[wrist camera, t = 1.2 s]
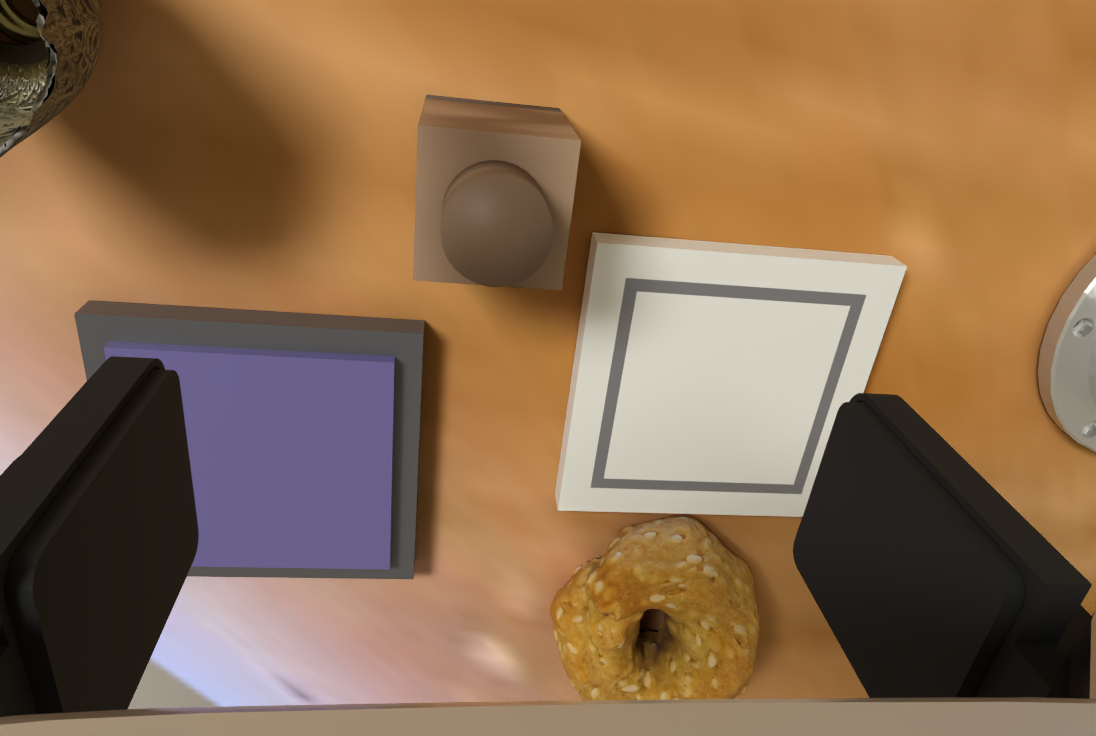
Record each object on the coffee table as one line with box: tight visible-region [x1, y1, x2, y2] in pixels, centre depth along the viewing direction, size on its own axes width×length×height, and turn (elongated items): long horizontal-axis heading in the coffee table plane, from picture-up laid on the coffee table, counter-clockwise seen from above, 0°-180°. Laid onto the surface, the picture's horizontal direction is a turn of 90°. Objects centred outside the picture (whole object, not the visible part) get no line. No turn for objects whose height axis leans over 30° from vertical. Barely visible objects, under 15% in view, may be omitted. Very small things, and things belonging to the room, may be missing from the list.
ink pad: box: [75, 300, 425, 579], centre depth 30 cm, size 12×12×2 cm
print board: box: [555, 232, 907, 517], centre depth 31 cm, size 12×12×1 cm
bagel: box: [550, 516, 760, 701], centre depth 35 cm, size 10×11×5 cm
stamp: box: [413, 95, 581, 290], centre depth 23 cm, size 4×4×8 cm
